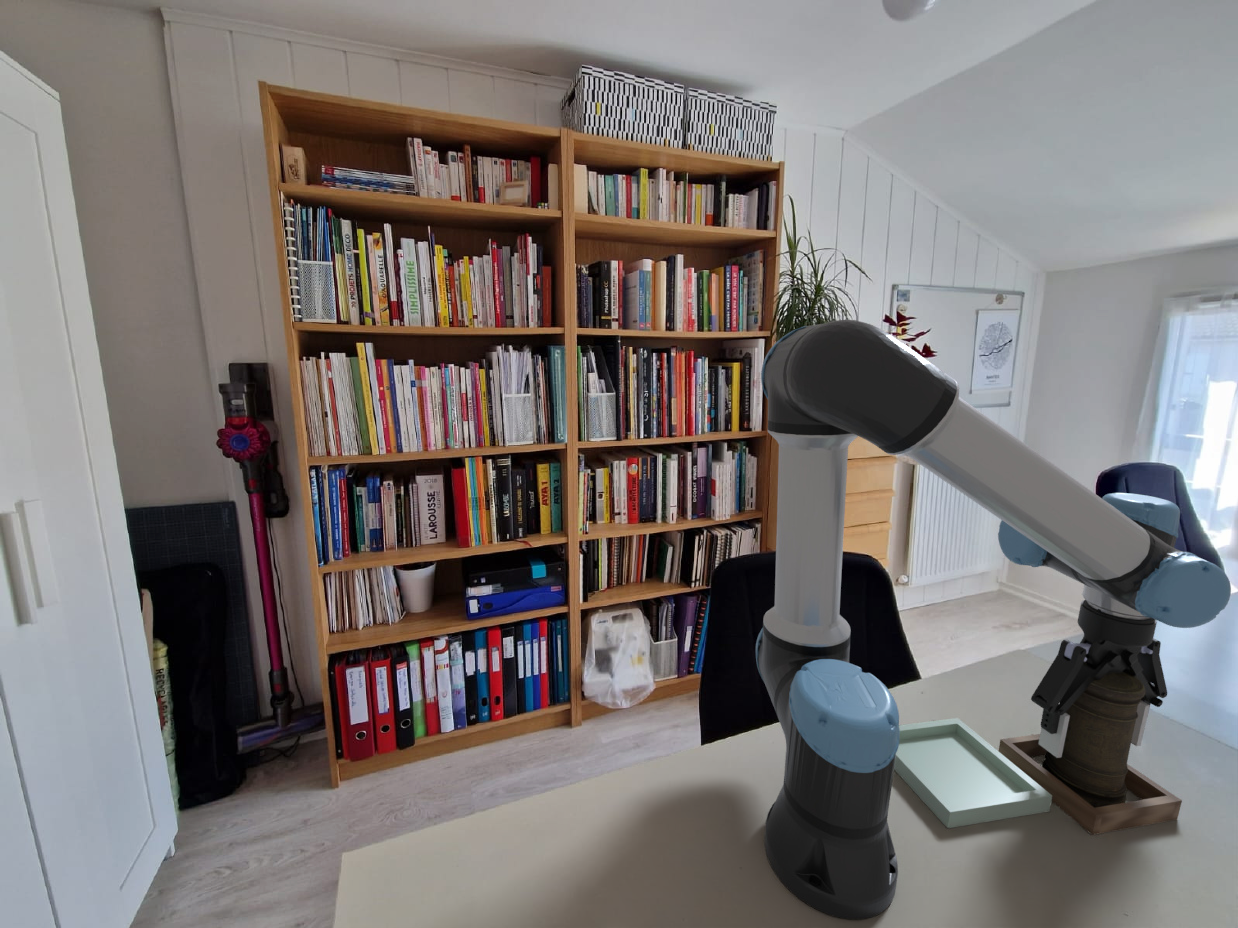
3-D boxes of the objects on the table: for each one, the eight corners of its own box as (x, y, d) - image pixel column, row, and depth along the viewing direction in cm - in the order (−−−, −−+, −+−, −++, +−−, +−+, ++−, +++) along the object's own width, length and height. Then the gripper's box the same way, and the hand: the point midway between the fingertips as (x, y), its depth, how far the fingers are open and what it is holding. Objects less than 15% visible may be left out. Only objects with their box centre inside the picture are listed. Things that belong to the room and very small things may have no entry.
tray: (947, 828, 68) (950, 812, 68) (869, 742, 84) (871, 728, 83) (1049, 811, 71) (1052, 795, 71) (955, 731, 87) (957, 717, 86)
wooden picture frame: (1091, 834, 68) (1096, 815, 67) (997, 756, 81) (1000, 739, 81) (1177, 819, 70) (1182, 800, 70) (1071, 745, 84) (1075, 729, 83)
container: (1141, 812, 71) (1170, 695, 68) (1075, 810, 71) (1100, 693, 68) (1085, 763, 80) (1107, 657, 77) (1026, 761, 80) (1046, 655, 77)
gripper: (1070, 628, 65) (1041, 776, 69) (1226, 613, 69) (1190, 753, 73) (1015, 601, 72) (992, 736, 76) (1159, 589, 76) (1130, 718, 80)
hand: (1089, 745), depth 74 cm, fingers open, 13 cm apart
